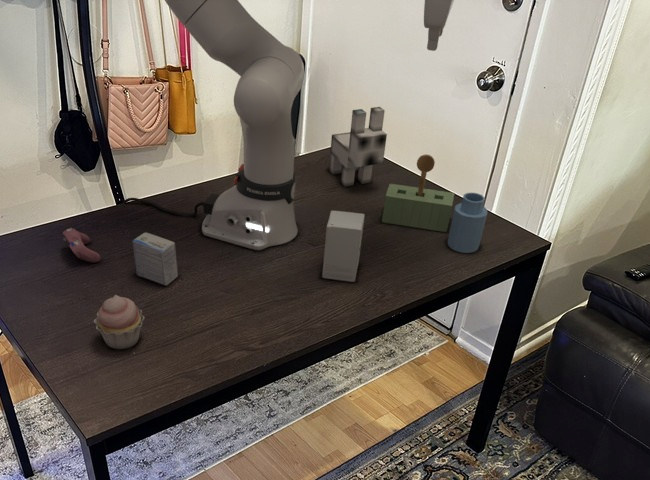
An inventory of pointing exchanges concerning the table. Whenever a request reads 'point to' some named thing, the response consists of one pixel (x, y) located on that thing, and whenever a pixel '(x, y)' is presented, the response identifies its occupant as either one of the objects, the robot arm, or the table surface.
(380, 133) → the blocky rabbit figurine
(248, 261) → the table surface
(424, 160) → the spoon
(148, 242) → the medicine box
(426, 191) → the stand
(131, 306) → the cupcake
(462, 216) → the bottle
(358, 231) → the white packaging box
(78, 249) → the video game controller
